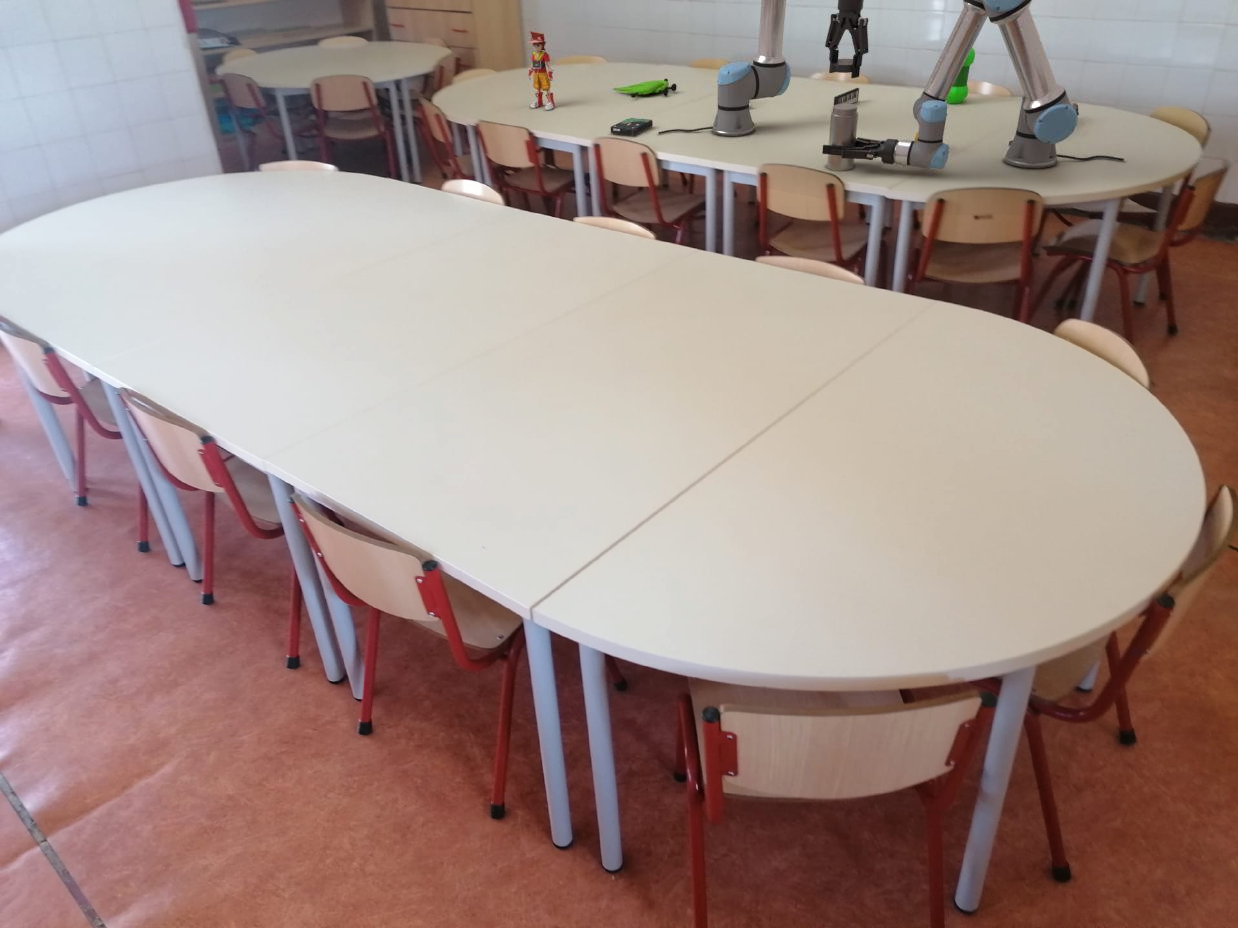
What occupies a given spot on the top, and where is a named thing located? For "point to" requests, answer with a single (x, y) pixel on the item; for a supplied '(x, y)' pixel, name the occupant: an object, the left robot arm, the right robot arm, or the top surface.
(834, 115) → the jar
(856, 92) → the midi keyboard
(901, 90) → the top surface
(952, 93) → the plastic bottle
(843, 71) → the lid
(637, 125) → the disk drive
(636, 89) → the toy
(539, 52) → the toy
